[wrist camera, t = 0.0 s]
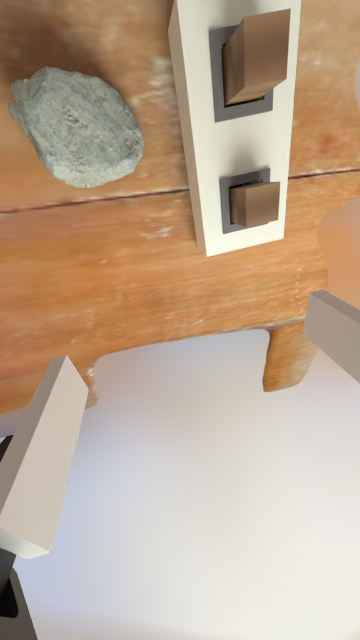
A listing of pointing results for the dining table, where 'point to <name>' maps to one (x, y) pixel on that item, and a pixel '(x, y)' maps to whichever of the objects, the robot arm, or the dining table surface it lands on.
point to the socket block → (228, 120)
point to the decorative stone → (77, 126)
